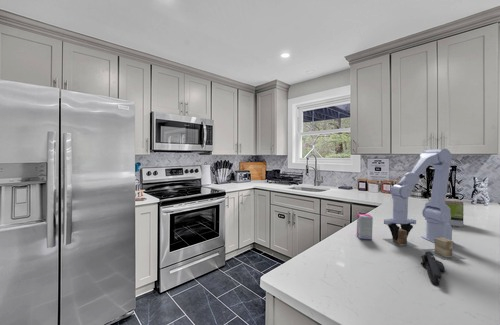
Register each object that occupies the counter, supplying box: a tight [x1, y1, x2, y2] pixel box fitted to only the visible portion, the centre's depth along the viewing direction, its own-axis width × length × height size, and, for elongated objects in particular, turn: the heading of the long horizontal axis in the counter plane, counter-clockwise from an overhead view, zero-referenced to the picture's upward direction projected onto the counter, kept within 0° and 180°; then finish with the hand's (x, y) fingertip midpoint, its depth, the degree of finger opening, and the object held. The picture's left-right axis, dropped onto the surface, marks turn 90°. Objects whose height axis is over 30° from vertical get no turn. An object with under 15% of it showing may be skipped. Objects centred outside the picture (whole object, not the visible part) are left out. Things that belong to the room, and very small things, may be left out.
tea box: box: [428, 197, 464, 228], centre depth 137 cm, size 15×10×15 cm, turn 58°
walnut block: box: [391, 227, 408, 244], centre depth 105 cm, size 4×4×6 cm
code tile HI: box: [422, 248, 466, 261], centre depth 93 cm, size 10×10×1 cm
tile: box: [382, 238, 418, 248], centre depth 105 cm, size 10×10×1 cm
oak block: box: [434, 238, 454, 256], centre depth 93 cm, size 4×4×6 cm
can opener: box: [419, 251, 445, 286], centre depth 77 cm, size 18×7×6 cm, turn 145°
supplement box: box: [356, 213, 374, 241], centre depth 111 cm, size 6×6×12 cm
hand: (399, 239), depth 105 cm, fingers closed on walnut block, 4 cm apart
